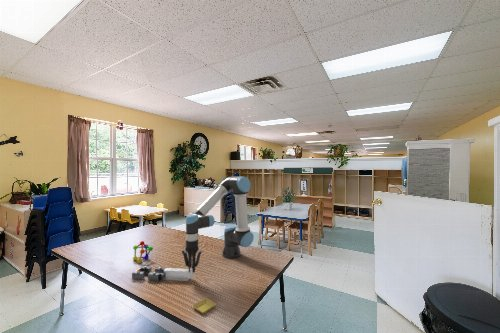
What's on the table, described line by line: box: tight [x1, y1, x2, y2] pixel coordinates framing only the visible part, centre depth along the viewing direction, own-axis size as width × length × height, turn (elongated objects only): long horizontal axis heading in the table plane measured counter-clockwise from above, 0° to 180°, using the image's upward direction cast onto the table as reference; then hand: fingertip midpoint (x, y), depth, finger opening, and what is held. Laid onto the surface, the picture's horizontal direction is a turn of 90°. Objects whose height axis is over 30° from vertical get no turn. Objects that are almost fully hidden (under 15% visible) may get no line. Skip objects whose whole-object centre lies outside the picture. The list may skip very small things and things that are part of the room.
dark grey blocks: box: [131, 265, 167, 282], centre depth 143 cm, size 21×10×5 cm, turn 81°
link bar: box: [164, 267, 191, 282], centre depth 140 cm, size 16×4×6 cm, turn 84°
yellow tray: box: [192, 297, 217, 315], centre depth 110 cm, size 9×9×2 cm
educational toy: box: [132, 240, 154, 264], centre depth 170 cm, size 16×13×15 cm
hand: (191, 277), depth 138 cm, fingers closed
